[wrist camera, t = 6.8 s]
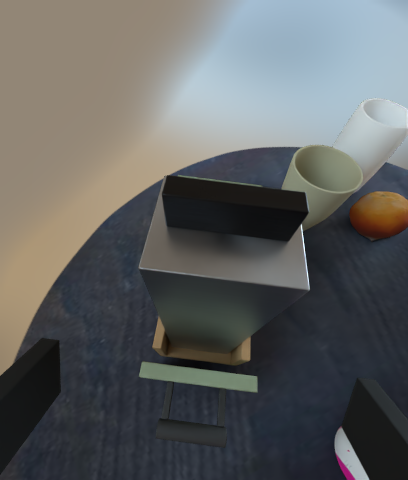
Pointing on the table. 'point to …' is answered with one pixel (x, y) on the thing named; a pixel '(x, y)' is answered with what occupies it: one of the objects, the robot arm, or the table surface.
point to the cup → (373, 134)
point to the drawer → (197, 377)
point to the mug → (322, 180)
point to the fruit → (379, 215)
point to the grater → (223, 260)
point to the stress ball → (348, 458)
